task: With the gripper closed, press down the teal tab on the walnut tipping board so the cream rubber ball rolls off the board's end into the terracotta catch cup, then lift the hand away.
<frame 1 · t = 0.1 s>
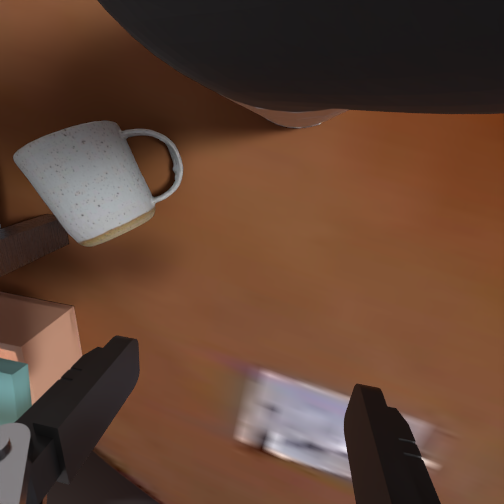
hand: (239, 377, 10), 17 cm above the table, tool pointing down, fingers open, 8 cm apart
ceramic mug: (133, 171, 26), on the table
catch cup: (38, 335, 36), on the table
pivot stand: (11, 221, 30), on the table
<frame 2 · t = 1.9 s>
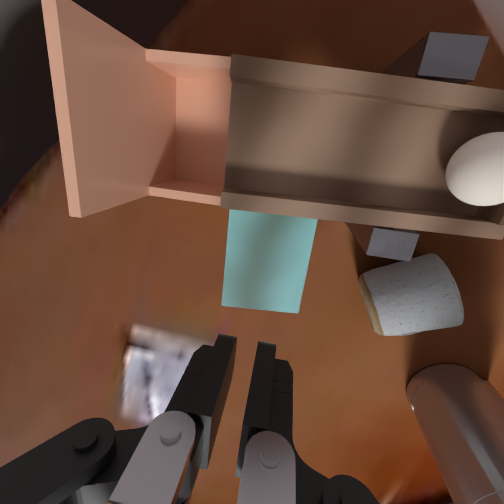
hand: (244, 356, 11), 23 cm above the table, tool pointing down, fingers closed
lever board: (354, 207, 22), point 9 cm above the table, hinge at -8.0°, touching ball
ceramic mug: (398, 289, 34), on the table
catch cup: (222, 137, 30), on the table
pivot stand: (369, 155, 29), on the table
ball: (488, 170, 16), point 14 cm above the table, tilted 15°, touching lever board
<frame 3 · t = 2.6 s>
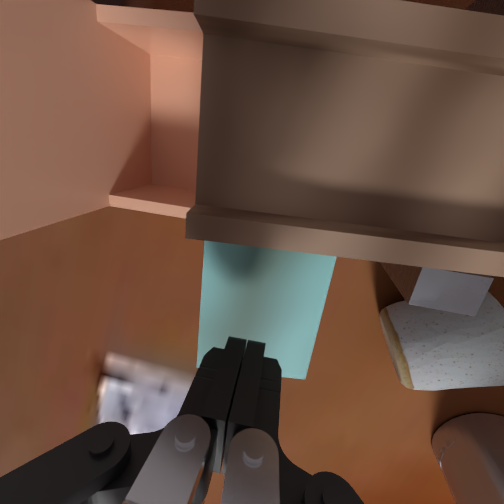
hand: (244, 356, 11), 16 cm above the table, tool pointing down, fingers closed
lever board: (387, 230, 15), point 9 cm above the table, hinge at -8.0°, touching ball
ceramic mug: (427, 324, 27), on the table
catch cup: (210, 132, 24), on the table
pivot stand: (398, 156, 22), on the table
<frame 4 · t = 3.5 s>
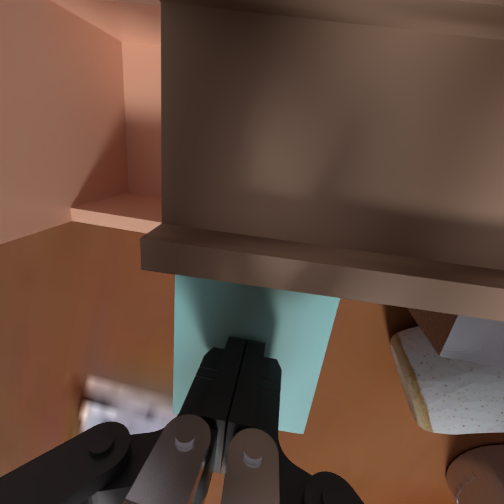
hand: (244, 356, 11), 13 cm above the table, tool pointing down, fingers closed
lever board: (409, 254, 12), point 9 cm above the table, hinge at -4.1°, touching ball, gripper
ceramic mug: (443, 350, 24), on the table
catch cup: (194, 132, 21), on the table
pivot stand: (411, 159, 19), on the table
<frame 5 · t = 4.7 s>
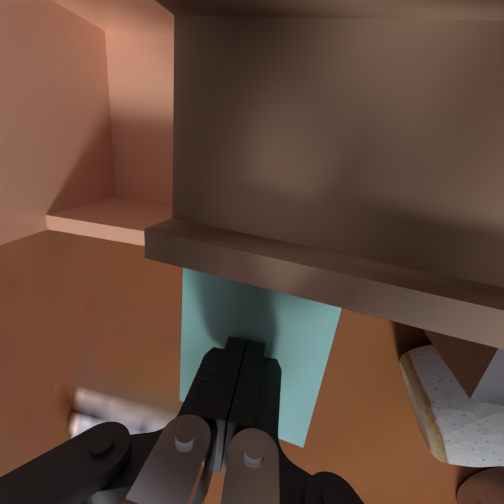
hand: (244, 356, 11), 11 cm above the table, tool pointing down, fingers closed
lever board: (439, 270, 11), point 9 cm above the table, hinge at 8.5°, touching gripper
ceramic mug: (456, 368, 23), on the table
catch cup: (186, 131, 19), on the table
pivot stand: (424, 160, 17), on the table
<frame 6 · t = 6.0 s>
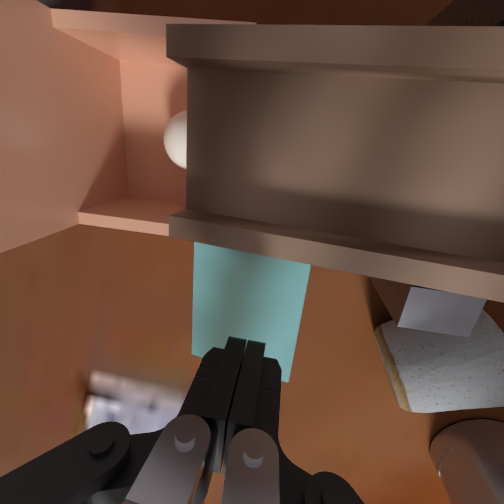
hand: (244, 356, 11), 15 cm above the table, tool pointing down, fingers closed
lever board: (384, 243, 15), point 9 cm above the table, hinge at 8.5°
ceramic mug: (423, 339, 27), on the table
catch cup: (188, 140, 23), on the table
pivot stand: (383, 161, 21), on the table
ball: (192, 141, 20), point 3 cm above the table, tilted 81°, touching catch cup
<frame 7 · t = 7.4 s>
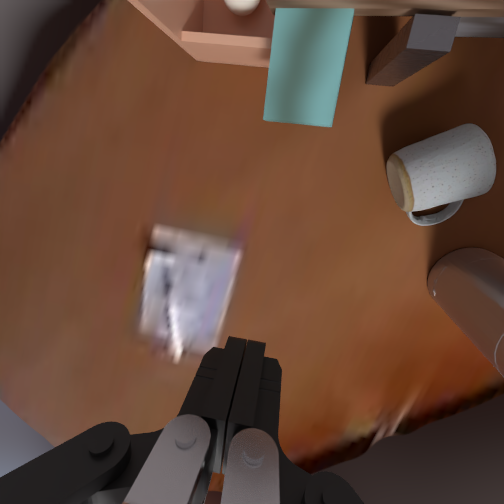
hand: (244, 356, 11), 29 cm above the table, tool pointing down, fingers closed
lever board: (397, 24, 23), point 9 cm above the table, hinge at 8.5°
ceramic mug: (424, 179, 34), on the table
catch cup: (250, 3, 31), on the table
pivot stand: (396, 13, 29), on the table
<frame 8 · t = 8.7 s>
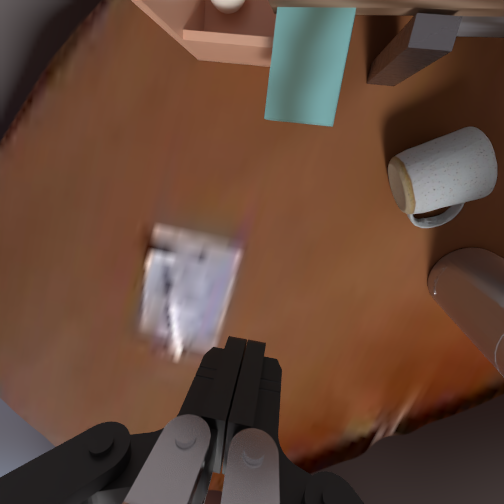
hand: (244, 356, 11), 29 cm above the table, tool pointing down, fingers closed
lever board: (399, 24, 23), point 9 cm above the table, hinge at 8.5°
ceramic mug: (425, 181, 35), on the table
catch cup: (251, 2, 31), on the table
pivot stand: (397, 13, 29), on the table
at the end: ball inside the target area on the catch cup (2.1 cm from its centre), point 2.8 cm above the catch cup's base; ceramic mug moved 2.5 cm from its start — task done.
